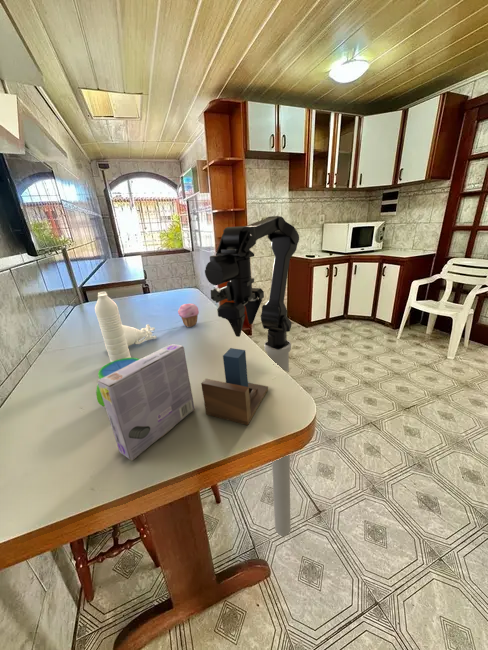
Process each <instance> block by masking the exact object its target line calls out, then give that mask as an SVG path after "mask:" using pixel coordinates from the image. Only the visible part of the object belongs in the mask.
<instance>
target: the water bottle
mask: <svg viewBox="0 0 488 650" xmlns="http://www.w3.org/2000/svg"><path fill="white" fill-rule="evenodd" d="M94 312H95V315H96V318H97V321H98V325H99V328H100V331H101V335H102V338H103V343H104V346H106V347H105V350H106V349H107V350H106V352H107V355H108V358H109V363H110V362H112V361H115V360H118V359H123V358H132V355H131V353H130V352H131V351H130V349H129V346H128V345H127V340H126V337H125V334H124V329H123V326H122V325H123V322H122V318H121V315H120V311H119V307H118V305H117V303H116V302H115V301H114V300H113V299H112V298H111V297H110V296H109V295H108V293H107V291H106V290H105V291H98V292H97V301H96V303H95V305H94Z"/></svg>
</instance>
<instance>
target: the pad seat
mask: <svg viewBox="0 0 488 650" xmlns="http://www.w3.org/2000/svg"><path fill="white" fill-rule="evenodd" d="M200 384H201V391H202V397H203V404H204V410H205V414H206V415H207V416H211V417H215V418H218V419H222V420H225V421H230V422H234V423H237V424H240V425H245V426H249V425H250V423H251V421H252V419H253V417H254V416H255V414H256V412H257V410H258V408H259V407H260V405H261V403H262V401H263V400H264V398H265V396H266V395H267V393H268V391H269V386H267V385H262V384H257V383H251V382H248V387H245V386H240V385H235V384H230V383H226V381H225V382H224V381H220V380H215V379H209V378H205V379H204V380H203V381H201V383H200Z"/></svg>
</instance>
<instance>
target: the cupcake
mask: <svg viewBox="0 0 488 650" xmlns="http://www.w3.org/2000/svg"><path fill="white" fill-rule="evenodd" d="M199 313H200V310H199V307H198V306H197V304H195V303H182V304H181V305H180V306H179V308H178V310H177V314H178V316H180V318H181V320H182V324H183V326H185V327H187V328H192V327H194V326H196V325H197V323H198V315H199Z"/></svg>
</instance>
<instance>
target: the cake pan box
mask: <svg viewBox="0 0 488 650" xmlns="http://www.w3.org/2000/svg"><path fill="white" fill-rule="evenodd" d="M139 359H140V360H137V361H135V362H133V363H132V364H130V365H128V366H126V367H124V368H122V369H120V370H118V371H116V372H114V373H112V374H110V375H108V376H105V377H103V378H101V379H97V381H96V383H97V385H98V386H99V389H100V392H101V395H102V398H103V401H104V405H105V407H104V408H105V411H106V415H107V417H108V420H109V423H110V427H111V430H112V433H113V436H114V439H115V442H116V445H117V448H118V451H119V453H120V454H121V455H123V456H124V457H126V458H127V459H128V460H130V461H131V462H132V461H135V460H136V459H137V458H138V456H140V455H141V454H142V453H144V452H145V451H146V450H147V449H148V448H150V447H151V446H152V445H153V444H154V443H156V442H157V441H158V440H161V439H162V438H163V437H164V436H165V435H166V434H167V433H169V432H170V431H171V430H172V429H174V428H175V426H176V425H177V424H179V423H180V422H181V421H183V419H185V418H186V417H187V416H189V414H191V413H192V412H194V411H195V409H196V408H195V404H194V397H193V392H192V386H191V381H190V376H189V370H188V364H187V358H186V350H185V347H184V346H183V345H180V344H174V343H170V344H168V345H166V346H164V347H162V348H160V349H158V350H156V351H154V352H152V353H150V354H147V355H146V356H144V357H141V358H139Z"/></svg>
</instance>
